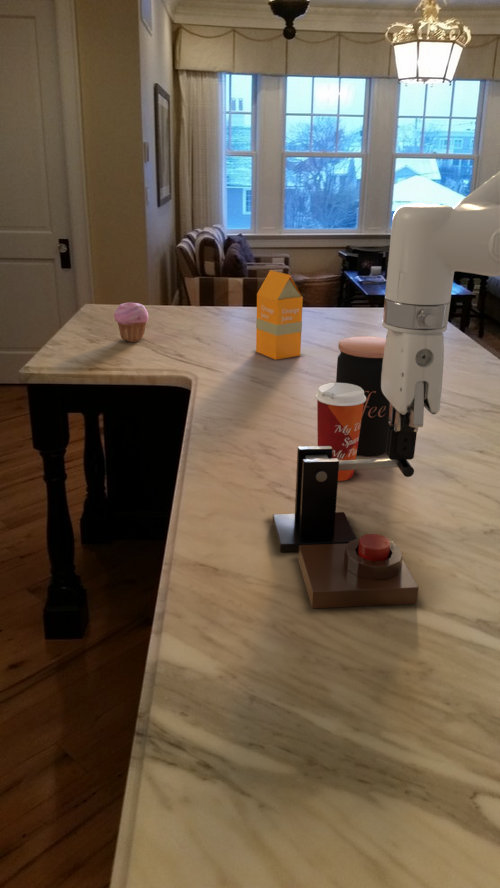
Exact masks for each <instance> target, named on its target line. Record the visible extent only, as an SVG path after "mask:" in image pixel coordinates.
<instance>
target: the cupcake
mask: <svg viewBox="0 0 500 888" xmlns="http://www.w3.org/2000/svg"><path fill="white" fill-rule="evenodd" d="M113 318H114V321H115V322H116V323H117V325H118V331H119V336H120V338H121V339H122V340H123V341H127V342H129V343H134V342H138V341H141V340H142V338H143V337H144V335H145V332H146V325H147V323H148V321H149V313H148V310H147V309H146V307H145V305H143V304H141V303H140V302H139V303H138V302H129V301H128V302H124V303H120V304H119V305H118V306H117V308H116V309H115V310H114V312H113Z"/></svg>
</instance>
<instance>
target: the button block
mask: <svg viewBox="0 0 500 888" xmlns="http://www.w3.org/2000/svg"><path fill="white" fill-rule="evenodd" d="M359 539H360V537H358V538H356V539H355V540H353V541H350V542H349V543H348V544H320V545H299V551H298V553H297V554H298V555H297V556H298V557H297V562H298V564H299V568H300V572H301V575H302V579H303V582H304V584H305V589H306V592H307V595H308V599H309V602H310V605H311V609H324V608H325V609H326V608H327V609H328V608H347V607H350V608H351V607H371V606H372V607H373V606H394V605H416V604H417V603H418V595H419V588H420V587H419V585H418V584H417V582H416V580H415V578H414V576H413V574H412V572H411V570H410V569H409V567H408V565H407V564H406V561H405V559H404V554H403V552H402V550H401V548H400V546H398V545H396V544H395V542H394V541H390V552H389V557H388V559H387V560H384V561H371V560H367V559H364V558H362V557H360V556H359V554H358V547H359Z"/></svg>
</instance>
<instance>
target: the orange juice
mask: <svg viewBox="0 0 500 888" xmlns="http://www.w3.org/2000/svg"><path fill="white" fill-rule="evenodd" d="M303 299H304V297H303V296H302V294H301V292H300V291H299V288H298V287H297V284H296V283H295V281H294V279H293V278H292V275H291V274H287V273H283V272H281V271H275V270H273V269H270V270H269V271H268V273H267V275H266V277H265V278H264V280H263V282H262V284H261V286H260V288H259V290H258V291H257V293H256V319H255V320H256V321H255V325H256V327H255V329H256V330H255V334H256V339H255V352H256V353H259V354H261V355H264V356H266V357H268V358H270V359H273V360H275V361H277V360H281V359H288V358H293V357H300V356H301V350H302V333H303V332H302V330H303V302H304V300H303Z"/></svg>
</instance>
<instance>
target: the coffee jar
mask: <svg viewBox="0 0 500 888" xmlns="http://www.w3.org/2000/svg"><path fill="white" fill-rule="evenodd" d="M385 342H386V337H379V336H368V335H367V336H352V337H351V336H350V337H346V338H342V339H340V340H339V341H338V350H339V354H338V355H337V359H336V360H337V361H336V377H335V383H348V384H353V385H357V386H359V387H361V388H362V389H363V390H364V395H365V396H366V401H365V402H364V405H363V412H362V419H361V426H360V433H359V441H358V448H357V454H356V456H363V457H374V456H380V455H383V454H386V447H387V437H388V428H389V426H393V425H389V408H390V402H389V401H388V399H387V398H386V397H385V396H384V394H383V392H382V389H381V374H382V364H383V356H384V349H385Z"/></svg>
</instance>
